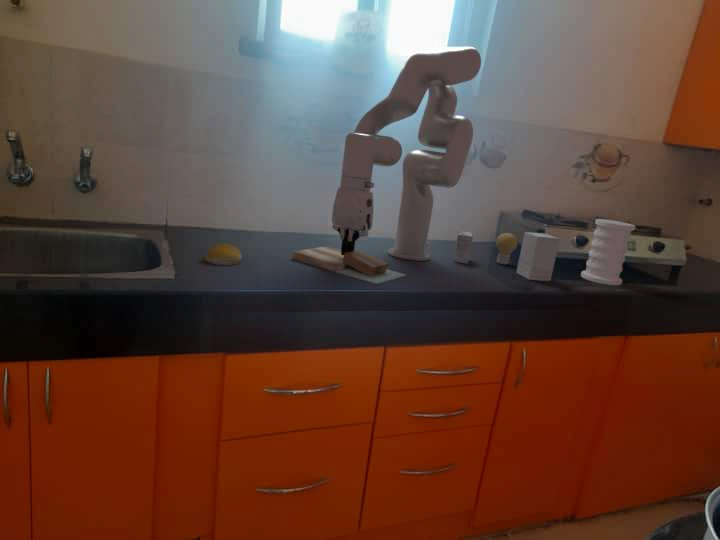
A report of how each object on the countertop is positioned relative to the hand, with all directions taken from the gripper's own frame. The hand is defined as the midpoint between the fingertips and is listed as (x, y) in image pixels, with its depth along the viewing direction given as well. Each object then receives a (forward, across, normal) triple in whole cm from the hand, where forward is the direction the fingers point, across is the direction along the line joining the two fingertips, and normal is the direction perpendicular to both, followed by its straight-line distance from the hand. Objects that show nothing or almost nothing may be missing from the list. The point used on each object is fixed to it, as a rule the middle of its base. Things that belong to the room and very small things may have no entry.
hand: (346, 255), depth 129 cm
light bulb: (+3, -24, -51) cm, 57 cm away
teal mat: (+3, -8, 0) cm, 9 cm away
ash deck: (+3, +5, 0) cm, 6 cm away
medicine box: (+3, -14, -41) cm, 44 cm away
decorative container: (+3, -51, -64) cm, 82 cm away
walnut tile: (+2, -6, 0) cm, 6 cm away
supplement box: (+3, -36, -43) cm, 57 cm away
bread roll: (+4, +19, +24) cm, 31 cm away
